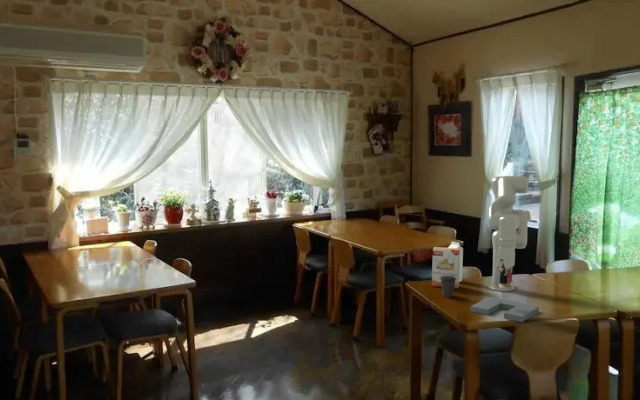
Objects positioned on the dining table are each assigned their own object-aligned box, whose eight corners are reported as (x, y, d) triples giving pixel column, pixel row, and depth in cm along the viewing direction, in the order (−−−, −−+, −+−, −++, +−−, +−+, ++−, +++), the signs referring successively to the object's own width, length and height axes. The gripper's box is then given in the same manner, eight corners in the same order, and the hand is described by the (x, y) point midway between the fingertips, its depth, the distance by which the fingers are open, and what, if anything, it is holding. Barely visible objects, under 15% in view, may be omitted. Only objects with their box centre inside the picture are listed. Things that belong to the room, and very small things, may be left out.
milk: (454, 282, 315) (455, 243, 313) (446, 280, 320) (447, 242, 318) (462, 281, 319) (463, 242, 316) (454, 279, 324) (454, 240, 321)
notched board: (489, 302, 277) (489, 297, 277) (538, 311, 262) (539, 306, 262) (470, 311, 262) (470, 306, 262) (521, 322, 247) (522, 316, 246)
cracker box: (431, 286, 307) (432, 248, 305) (433, 283, 313) (434, 246, 310) (458, 288, 302) (459, 250, 300) (459, 286, 308) (460, 248, 306)
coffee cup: (456, 298, 284) (456, 278, 283) (439, 297, 286) (440, 277, 285) (455, 294, 292) (456, 274, 291) (439, 293, 294) (439, 274, 293)
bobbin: (502, 285, 265) (502, 264, 264) (514, 287, 261) (515, 265, 260) (496, 287, 260) (497, 266, 259) (509, 289, 257) (509, 267, 256)
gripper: (506, 240, 268) (505, 278, 269) (491, 244, 255) (489, 284, 257) (522, 241, 263) (521, 280, 264) (507, 246, 250) (506, 287, 252)
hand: (505, 282), depth 260 cm, fingers closed on bobbin, 4 cm apart
